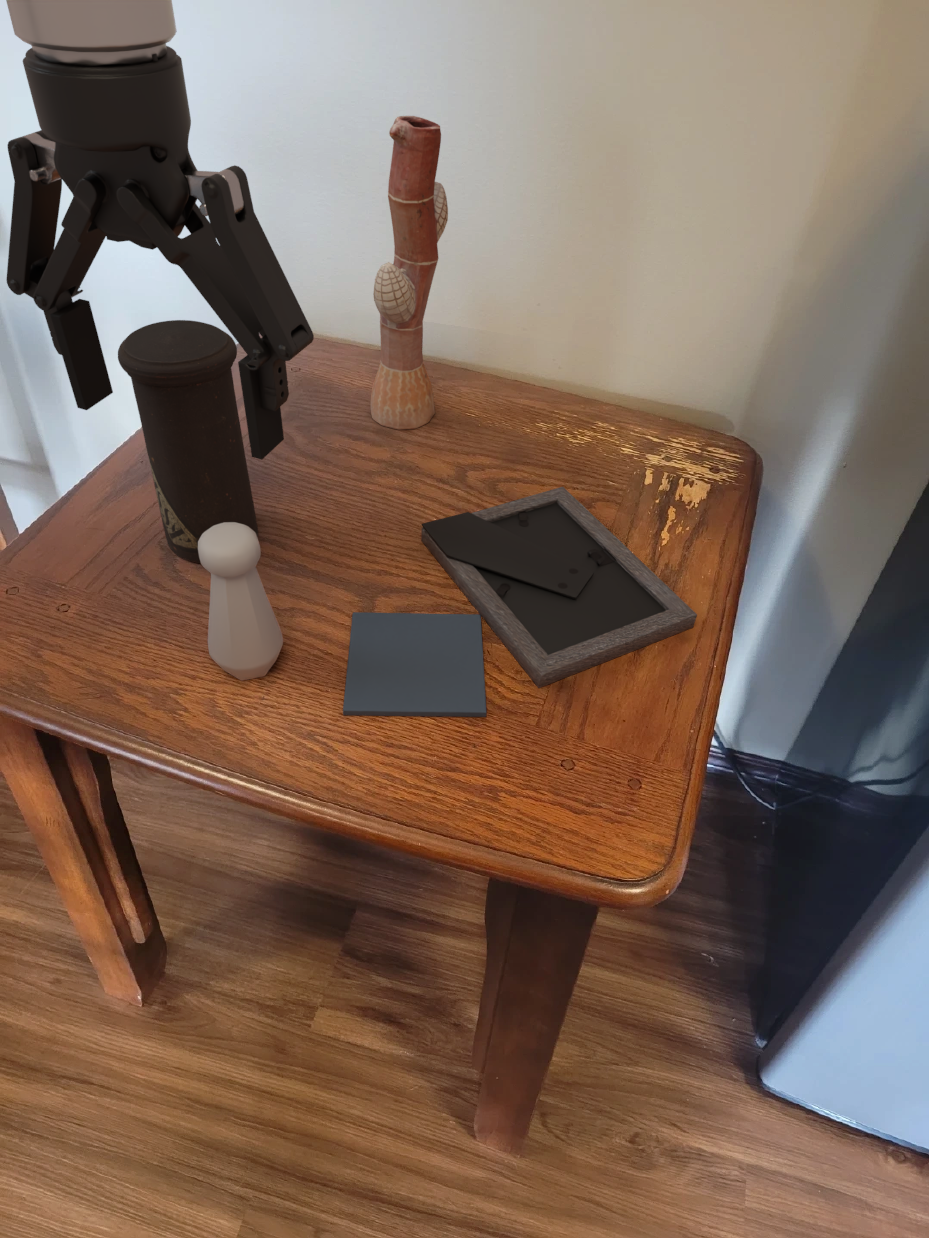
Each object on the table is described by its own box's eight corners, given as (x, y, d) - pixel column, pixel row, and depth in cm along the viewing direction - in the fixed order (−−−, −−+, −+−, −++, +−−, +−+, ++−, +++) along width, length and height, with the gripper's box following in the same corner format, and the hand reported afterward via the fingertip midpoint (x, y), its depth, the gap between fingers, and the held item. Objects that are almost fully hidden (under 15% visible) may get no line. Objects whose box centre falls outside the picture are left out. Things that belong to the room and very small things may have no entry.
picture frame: (421, 540, 81) (538, 688, 68) (421, 523, 80) (541, 671, 67) (560, 499, 87) (693, 627, 74) (563, 482, 86) (698, 610, 73)
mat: (343, 715, 65) (342, 710, 65) (352, 616, 73) (352, 611, 73) (486, 717, 66) (486, 712, 65) (480, 619, 74) (480, 614, 73)
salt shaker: (250, 699, 66) (226, 572, 57) (197, 668, 68) (165, 540, 59) (300, 655, 69) (285, 529, 60) (248, 626, 72) (226, 500, 63)
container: (184, 505, 83) (141, 306, 70) (274, 516, 83) (248, 317, 69) (148, 560, 77) (93, 353, 63) (245, 572, 76) (210, 367, 63)
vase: (391, 438, 94) (388, 136, 73) (353, 411, 98) (339, 116, 77) (463, 410, 99) (480, 120, 78) (424, 385, 103) (430, 102, 82)
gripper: (361, 66, 42) (372, 441, 56) (-38, 6, 48) (66, 359, 62) (281, 97, 37) (317, 501, 51) (-155, 26, 42) (-12, 406, 57)
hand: (179, 424), depth 57 cm, fingers open, 13 cm apart
